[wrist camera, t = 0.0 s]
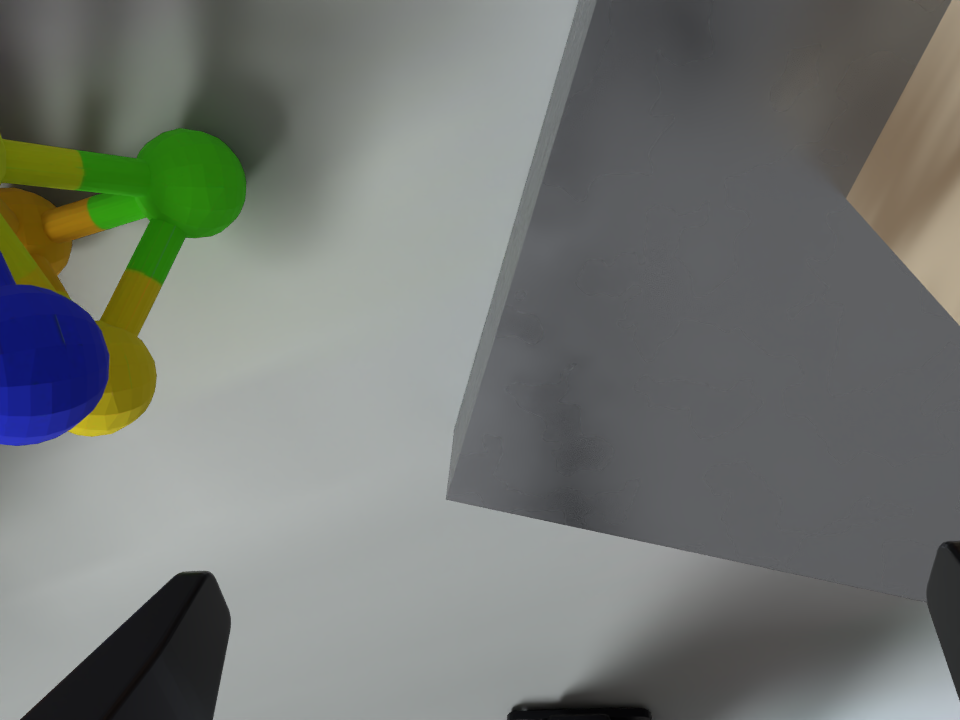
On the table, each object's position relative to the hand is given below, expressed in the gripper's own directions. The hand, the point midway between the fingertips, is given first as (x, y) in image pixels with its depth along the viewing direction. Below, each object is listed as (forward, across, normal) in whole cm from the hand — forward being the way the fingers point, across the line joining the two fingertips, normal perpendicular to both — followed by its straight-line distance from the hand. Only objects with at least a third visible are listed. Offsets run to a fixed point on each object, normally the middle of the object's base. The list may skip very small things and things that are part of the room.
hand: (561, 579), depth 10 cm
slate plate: (+15, -9, +3) cm, 18 cm away
